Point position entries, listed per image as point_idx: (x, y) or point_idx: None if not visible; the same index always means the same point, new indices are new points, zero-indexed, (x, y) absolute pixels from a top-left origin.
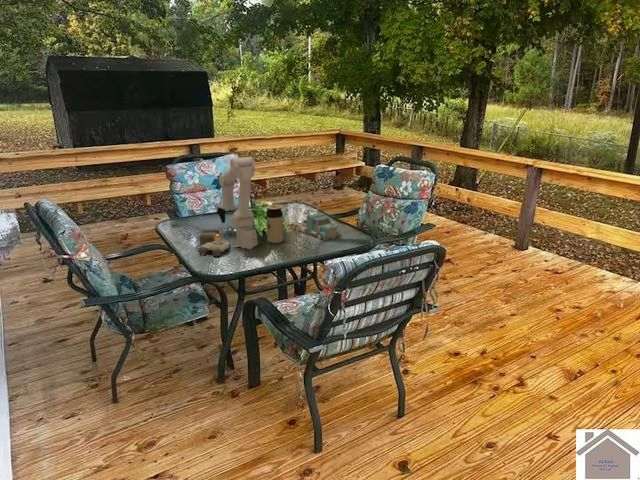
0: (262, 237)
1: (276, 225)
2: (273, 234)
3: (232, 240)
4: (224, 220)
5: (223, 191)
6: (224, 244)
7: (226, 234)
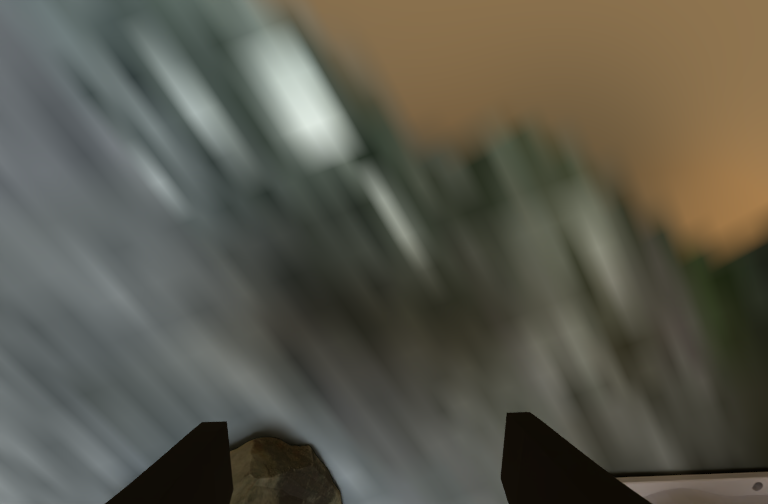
0: (761, 264)
1: None
2: None
3: (474, 460)
4: (213, 473)
5: None
6: None
7: (292, 318)
